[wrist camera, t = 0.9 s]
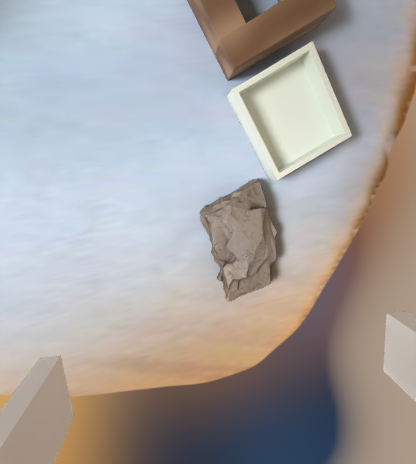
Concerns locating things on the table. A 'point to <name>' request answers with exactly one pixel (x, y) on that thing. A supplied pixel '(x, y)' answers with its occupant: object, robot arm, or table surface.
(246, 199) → the rock
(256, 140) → the tray
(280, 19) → the bore block
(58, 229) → the table surface
